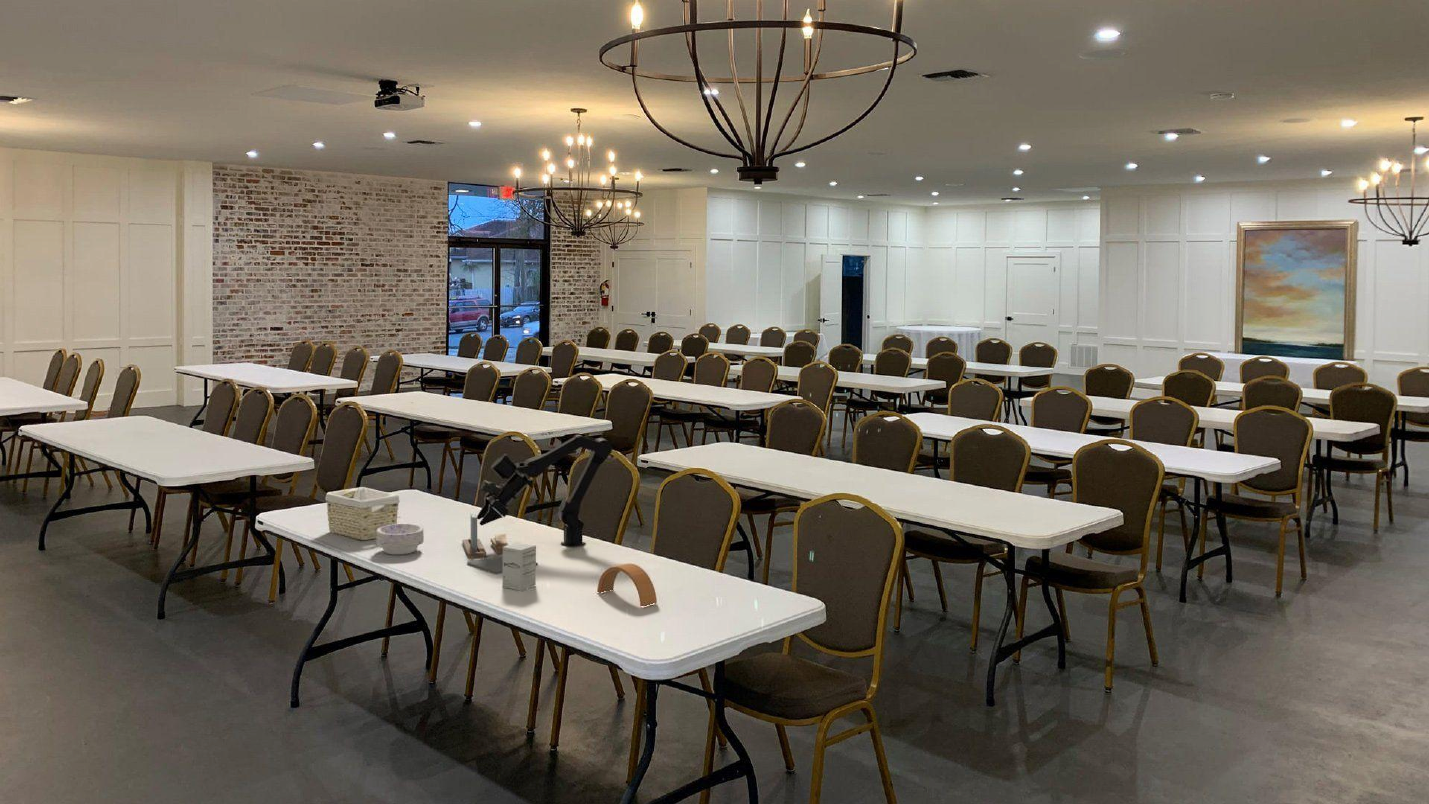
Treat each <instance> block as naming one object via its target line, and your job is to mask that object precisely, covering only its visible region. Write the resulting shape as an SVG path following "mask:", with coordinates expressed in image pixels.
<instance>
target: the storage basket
mask: <svg viewBox="0 0 1429 804" xmlns="http://www.w3.org/2000/svg"><path fill="white" fill-rule="evenodd" d="M400 500H401V499H400V496H399V494H395V493H392V492H385V491H383V490H382V491H381V490H377V489H374V488H369V487H365V486H359V487H354V488H347V489H346V488H345V489H341V490H335V491H328V492H327V493H326V494H325V501H326V505H327V508H326V509H327V520H328V530H329V532H330V533H333V534H337V533H338V534H337V535H341V536H344V537H349V538H351V539H355V540H360V541H367V540H374V539H377V536H376V531H377V529H378V528H380V527H383V526H387V525H393V524H398V514H399V513H398V510H399V504H400Z"/></svg>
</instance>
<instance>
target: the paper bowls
mask: <svg viewBox="0 0 1429 804" xmlns="http://www.w3.org/2000/svg"><path fill="white" fill-rule="evenodd" d="M424 534H425V533H424V527H423V526H421V525H419V524H414V523H412V524H411V523H397V524H393V525H387V526H383V527H380V528H378V529H377V531H376V536H377V538H376V545H377V546H378V547H380V548H382V550H383V552H384V553H386V554H388V555H396V556H399V555H401V556H403V555H409V554H411V553H413V552H415V551H416V550H417V549H418V547H419V546H420V545H422V544H423V543H424V541H425V539H424V537H425V536H424Z"/></svg>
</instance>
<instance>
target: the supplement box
mask: <svg viewBox="0 0 1429 804" xmlns="http://www.w3.org/2000/svg"><path fill="white" fill-rule="evenodd" d="M502 555H503V573H502V587H501V588H505V589H510V588H511V590H516V591H520V592H523V591H525V589H526V590H528V589H531V588H533V587H535V586H536V583H537V582H536V581H537V579H536V577H537V566H536V562H537V545H536V544H530V543H529V544H528V543H522V542H513V543H511V544H508V545H507V546H504V547H503V554H502ZM534 585H535V586H534ZM532 586H533V587H532ZM527 588H528V589H527Z"/></svg>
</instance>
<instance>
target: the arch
mask: <svg viewBox="0 0 1429 804" xmlns="http://www.w3.org/2000/svg"><path fill="white" fill-rule="evenodd" d="M620 572H622V573H624V574H625V575H626V576H628V578H629V579H631V581H632V583H633V584H634V586H635V588H636V590H637V593H638V594H637V595H638V598H639V599H638V600H639V605H640V606H647V605H650V604H653V603H657V604H658V601H657V600H658V599H657V594H656V590H655V589H656V588H655V587H654V584H653V581H652V580H651V577H650V575H648V574H647V572H646V571H645V570H644V569H643V568H642V567H640V566H639V565H637V564H634V563H625V564H619V565H615V566H612V567H611V566H610V567H609V568H607V569H605V571H604V572H602V574H601V575H600V578H599V581H598V584H597V591H596V593H597V592H599V593H601V592H604V591H610V590H613V591H614V587H615V582H616V579H617V576H618V574H619V573H620ZM610 592H611V591H610ZM599 593H598V594H599ZM640 606H639V607H640Z"/></svg>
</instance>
